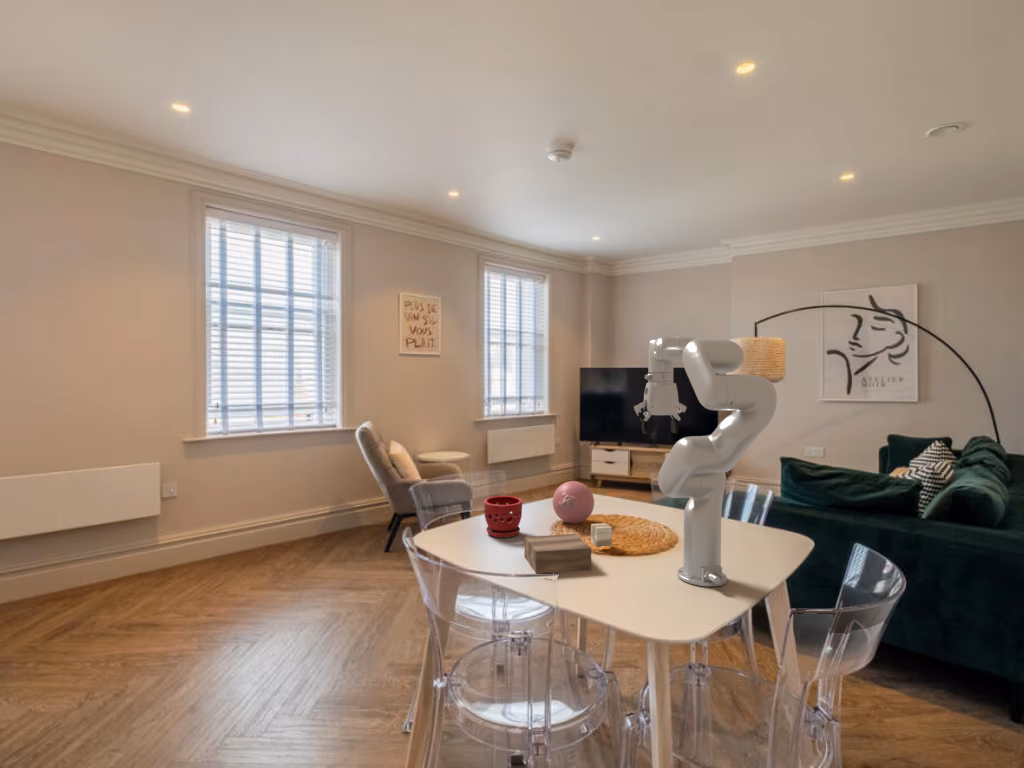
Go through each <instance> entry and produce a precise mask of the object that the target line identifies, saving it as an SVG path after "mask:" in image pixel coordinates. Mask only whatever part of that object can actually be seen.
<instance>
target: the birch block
mask: <svg viewBox="0 0 1024 768" xmlns="http://www.w3.org/2000/svg"><path fill="white" fill-rule="evenodd" d="M612 529H613V527H612V526H611V525H609V524H608V523H606V522H605V523H591V524H590V544H591V543H593V544H594V545H595V546H596V547H601V546H611V545H613V543H612V542H613V540H612V539H613V538H612V537H613V530H612Z"/></svg>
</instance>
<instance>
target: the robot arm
mask: <svg viewBox="0 0 1024 768" xmlns="http://www.w3.org/2000/svg"><path fill="white" fill-rule="evenodd" d="M744 360H745V352H744V350H743V348H742V347H741V346H740V345H739V344H738V343H737V342H735V341H732V340H728V339H722V338H713V337H701V336H699V337H696V336H695V337H694V336H660V337H658V338H654V339H651V340H649V343H648V366H647V367H648V372H647V374H645V375H644V379H645V380H647V382H646V385H645V389H644V392H643V401H642V402H640V403H638V404H637V405H634V406H633V409H634V411H635V413H636V416H638V418H639V419H640V420H641V431H642V434H645V435H649V434H650V420H649V419H650V417H652V416H670V417H671V421H670V433H672V434H676V435H677V434H679V429H680V428H679V423H680V421H681V419H682V417H684V415H685V412H686V410H687V408H688V407H687V406H686V405H684V404H682V403H680V401H679V392H678V387H677V382H676V383H675V382H674V362H675V363H677V362H679V363H682V364H683V367H684V370H685V373H686V376H687V377H688V379H689V382H690V384H691V387H692V389H693V391H694V393H695V396H696V398H697V400H698V402H699V403H700V405H701V406H703V407H704V409H707V410H710V411H734V412H732V413H731V414H729V415H727V416H726V417H725V418H724V419H723V420H721V421H720V422H719V423H718V425H717V427H716V428H715V429H714V431H712V433H711V434H707V435H701V436H700V435H699V436H698V435H695V436H693V435H692V436H691V435H690V436H684V437H682V438H680V439H679V440H677V441H676V442H675V443H674V445H673V446H672V448H671V449H670V451H669V453H668V455H667V457H666V458H665V460H664V461H663V463H662V465H661V467H660V469H659V471H658V476H657V483H658V488H659V490H660V491H661V492H662V494H664V496H666V497H668V498H673V499H679V498H680V499H681V498H683V499H684V498H689V499H688V500H687V503H686V505H685V507H684V511H683V560H682V561H683V562H682V563H683V567H680V568H679V569H677V577H678V578H679V579H680V580H681V581H683V582H685V583H688V584H690V585H695V586H698V587H699V586H700V587H710V588H711V587H720V586H723V585H725V584H727V582H728V576H727V574H725V573H724V572H723V567H722V511H723V510H722V508H723V500H724V499H723V498H724V494H725V489H726V484H727V476H726V473H728V472H729V471H731V470H732V469H733V468H734V467H735V465H736V464H737V463H738V461H739V460H740V459H741V458H742V457H743V456H744V454H745V452H747V450H748V449H749V447H750V445H752V443H753V442H754V441H755V440H756V439H757V438H758V437H759V435H761V434H762V433H763V432H764V431H765V429H767V427H768V426H769V424H770V423H771V421H772V419H773V417H774V416H775V412H776V409H777V402H778V398H777V396H778V395H777V390H776V387H775V385H774V384H773V383H772V381H770V380H769V379H768V378H766V377H762V376H760V375H754V374H730V373H733V372H735V371H737V370H738V369H739V368H740V367H741V366H742V365H743V363H744ZM641 409H643V412H642V410H641Z"/></svg>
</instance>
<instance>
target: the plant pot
mask: <svg viewBox="0 0 1024 768" xmlns="http://www.w3.org/2000/svg"><path fill="white" fill-rule="evenodd" d="M483 508H484V509H483V511H484V518H485V522H486V524H487V527H486V528H485V529H486V532H487V533H488V534H489V535H490V536H492V537H496V538H511V537H514V536H517V535H518V534H519V533H520V531H521V528H520V526H519V525H520V523H521V519H522V516H523V500H522V499H521V498H520V497H518V496H514V495H513V496H512V495H496V496H490V497H487V498H485V499H484V501H483Z"/></svg>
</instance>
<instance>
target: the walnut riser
mask: <svg viewBox="0 0 1024 768" xmlns="http://www.w3.org/2000/svg"><path fill="white" fill-rule="evenodd" d="M523 554H524V558H525V560H526V561H527V563H528V564H529V566H530V567H531V569H532V570H533V571H534V573H535V574H545V573H544V572H548V573H560V572H573V571H574V572H576V571H591V570H592V546H590V545H588V543H586V542H585V541H584V540H583V539H582V538H581V537H580V536H579V535H578V534H576V533H570V534H568V533H567V534H552V535H551V534H550V535H548V534H547V535H537V536H535V535H532V536H524V553H523Z"/></svg>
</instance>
